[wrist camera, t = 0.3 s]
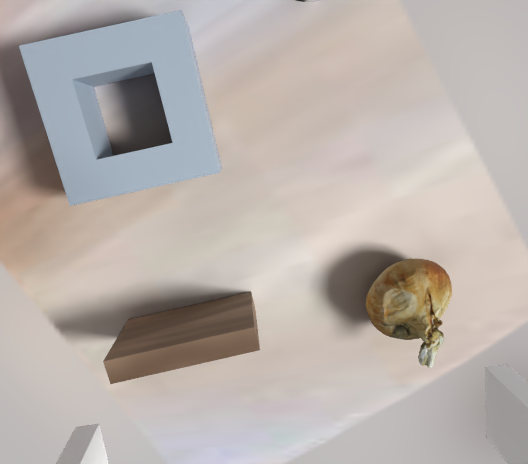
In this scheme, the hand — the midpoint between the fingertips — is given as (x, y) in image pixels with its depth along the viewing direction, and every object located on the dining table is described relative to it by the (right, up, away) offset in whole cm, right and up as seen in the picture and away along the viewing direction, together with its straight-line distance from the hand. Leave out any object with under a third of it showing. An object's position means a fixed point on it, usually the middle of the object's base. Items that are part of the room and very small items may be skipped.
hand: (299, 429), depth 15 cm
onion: (+12, +1, +28) cm, 31 cm away
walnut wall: (-8, -1, +27) cm, 29 cm away
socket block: (-12, +17, +23) cm, 31 cm away
